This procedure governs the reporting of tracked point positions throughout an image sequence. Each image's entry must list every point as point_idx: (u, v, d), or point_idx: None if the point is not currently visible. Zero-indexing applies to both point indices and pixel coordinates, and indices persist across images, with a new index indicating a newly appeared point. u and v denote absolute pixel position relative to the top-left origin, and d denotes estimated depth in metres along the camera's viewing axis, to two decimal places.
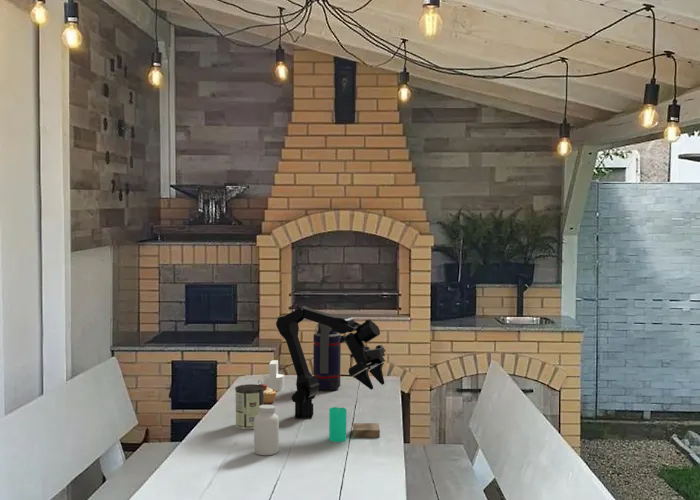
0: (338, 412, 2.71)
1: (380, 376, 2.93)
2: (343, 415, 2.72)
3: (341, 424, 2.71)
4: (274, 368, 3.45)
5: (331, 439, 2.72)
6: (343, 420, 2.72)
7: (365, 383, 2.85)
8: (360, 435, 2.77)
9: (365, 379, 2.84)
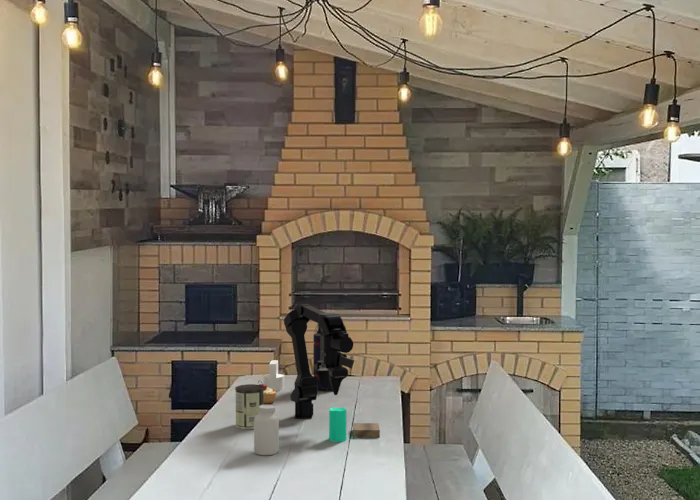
0: (338, 412, 2.71)
1: (327, 381, 2.92)
2: (343, 415, 2.72)
3: (341, 424, 2.71)
4: (274, 368, 3.45)
5: (331, 439, 2.72)
6: (343, 420, 2.72)
7: (334, 387, 2.82)
8: (360, 435, 2.77)
9: (337, 384, 2.82)
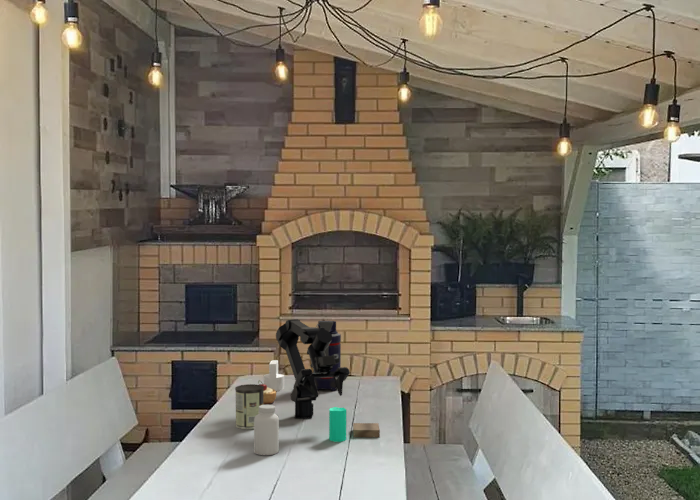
0: (338, 412, 2.71)
1: (339, 387, 2.85)
2: (343, 415, 2.72)
3: (341, 424, 2.71)
4: (274, 368, 3.45)
5: (331, 439, 2.72)
6: (343, 420, 2.72)
7: (311, 391, 2.81)
8: (360, 435, 2.77)
9: (311, 386, 2.81)
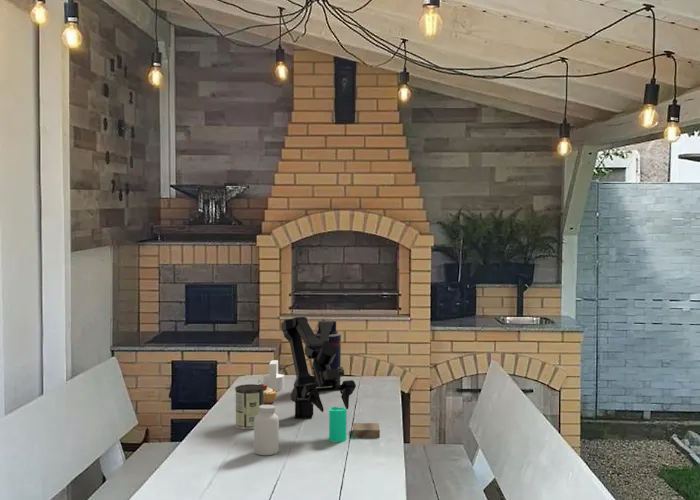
0: (338, 412, 2.71)
1: (345, 400, 2.79)
2: (343, 415, 2.72)
3: (341, 424, 2.71)
4: (274, 368, 3.45)
5: (331, 439, 2.72)
6: (343, 420, 2.72)
7: (317, 405, 2.76)
8: (360, 435, 2.77)
9: (316, 401, 2.76)
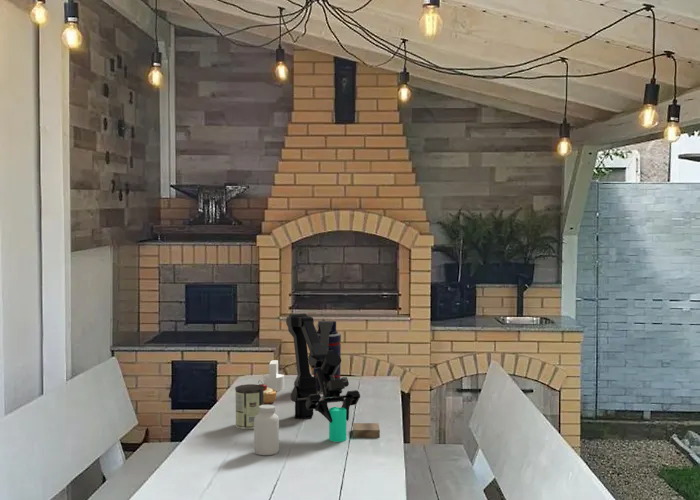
0: (338, 412, 2.71)
1: None
2: (343, 415, 2.71)
3: (341, 424, 2.71)
4: (274, 368, 3.45)
5: (331, 439, 2.72)
6: (343, 420, 2.72)
7: (325, 416, 2.73)
8: (360, 435, 2.77)
9: (325, 411, 2.73)
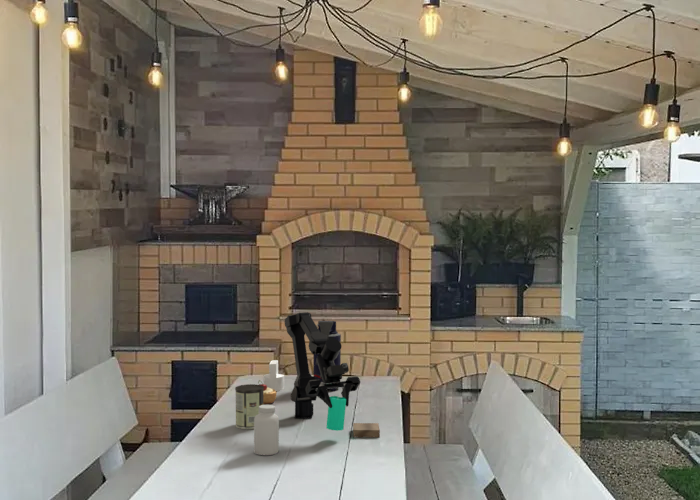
0: (338, 400, 2.71)
1: (345, 397, 2.75)
2: (342, 404, 2.71)
3: (339, 413, 2.71)
4: (274, 368, 3.45)
5: (328, 427, 2.72)
6: (342, 409, 2.71)
7: (325, 401, 2.73)
8: (360, 435, 2.77)
9: (325, 397, 2.73)
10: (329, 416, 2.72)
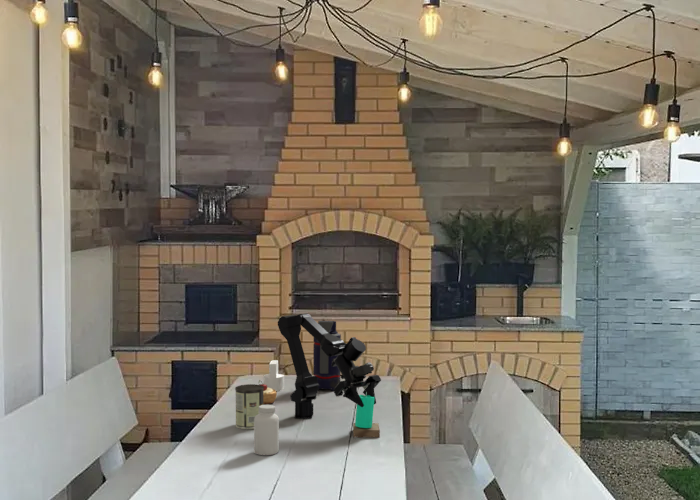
0: (369, 399, 2.78)
1: None
2: (372, 402, 2.79)
3: (370, 410, 2.78)
4: (274, 368, 3.45)
5: (359, 425, 2.78)
6: (372, 407, 2.79)
7: (355, 401, 2.79)
8: (360, 435, 2.77)
9: (354, 397, 2.79)
10: (360, 415, 2.78)
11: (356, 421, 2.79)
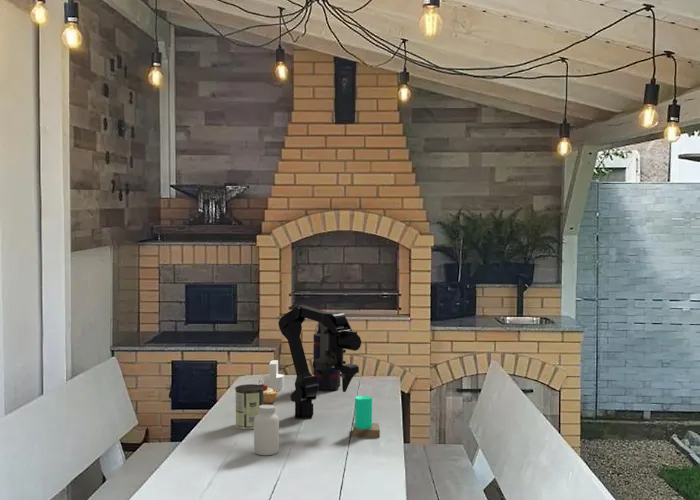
0: (367, 400, 2.77)
1: None
2: (370, 403, 2.79)
3: (369, 411, 2.78)
4: (274, 368, 3.45)
5: (359, 427, 2.78)
6: (370, 407, 2.79)
7: None
8: (360, 435, 2.77)
9: None
10: (359, 416, 2.78)
11: (356, 423, 2.79)
